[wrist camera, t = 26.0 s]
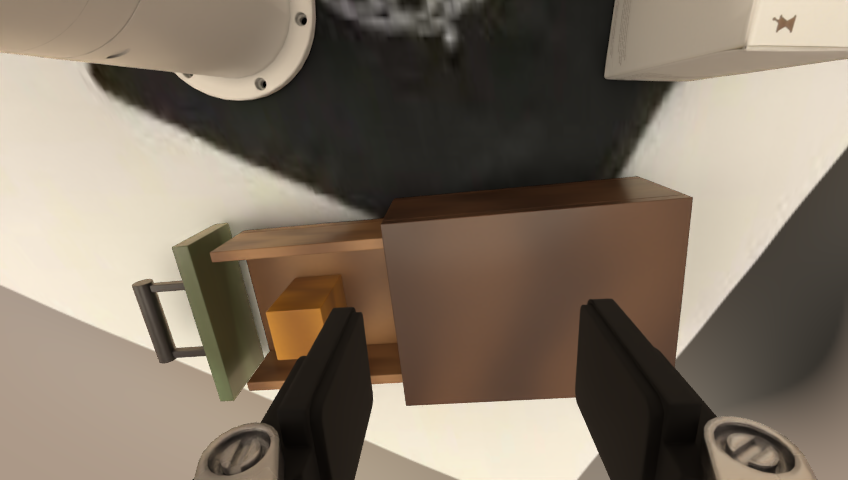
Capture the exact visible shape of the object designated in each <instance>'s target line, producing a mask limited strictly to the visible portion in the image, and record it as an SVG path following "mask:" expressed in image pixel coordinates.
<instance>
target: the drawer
mask: <svg viewBox="0 0 848 480" xmlns="http://www.w3.org/2000/svg"><path fill="white" fill-rule="evenodd" d="M383 219H384V218H382V219H371V220H359V221H348V222H337V223H325V224H314V225H302V226H291V227H279V228H268V229H256V230H245V231H243V232H241V233H240V234H238V235H236V236H235V237H233V238H232V235H231V232H230V228H229V224H228V223H222V224H215V225H213V226H211V227H209V228H207V229H205V230H203V231H201V232H200V233H198V234H196V235H194V236H192V237H190V238H188V239H186V240H184V241H183V242H181V243H179V244H177V245H175V246H173V247H172V250H173V253H174V256H175V259H176V262H177V265H178V269H179V272H180V275H181V278H182V281H172V282H160V283H154V282H153V280H152V279H145V280H141V281H138V282H136V283H134V284H133V285H132V288H133V290H134V293H135V296H136V299H137V301H138V304H139V307H140V310H141V312H142V315H143V318H144V321H145V324H146V326H147V329H148V332H149V335H150V337H151V340H152V343H153V346H154V348H155V351H156V354H157V357H158V359H159V362H160V363H168V362H171V361H173V360H175V359H176V358H180V357H196V356H206V357H207V360H208V363H209V366H210V369H211V372H212V376H213V379H214V382H215V385H216V388H217V391H218V394H219V398H220V401H234V400H235V399H236V397H237V396H238V395H239V393H240V392H241V390H242V389H243V387H244V386H245V385H246V383H247V385H248V388H249V391H255V390H273V389H281V387H282V385H283V383H284V382H285V380H286V378H287V377H288V375H289V373H290V371H291V370H292V368H293V366H294V365H295V363H296V361H297V360H298V359H288V360H278V359H277V355H276V351H275V347H274V343H273V339H272V335H271V331H270V327H269V324H268V320H267V316H266V311H267V310H268V309H269V308H270V307H271V306H272V304H273V303H274V302H275V301H276V300H277V299H278V297H279V296H280V295H281V294H282V293H283V292H284V290H285V289H286V288H287V287H288V286H289V285H290V283H291V282H292V281H293V280H294V279H295V278H300V277H313V276H326V275H339V274H341V277H342V282H343V288H344V293H345V299H346V304H347V307H354V308H355V310H356V312H362V314H363V320H364V328H365V336H366V344H367V352H368V360H369V368H370V376H371V384H383V383H401V382H403V380H402V373H401V366H400V359H399V352H398V345H397V338H396V331H395V324H394V317H393V310H392V303H391V296H390V289H389V282H388V275H387V268H386V261H385V254H384V247H383V240H382V233H381V226H380V225H381V223H382V220H383ZM238 260H246V261H247V265H248V268H249V272H250V276H251V280H252V284H253V288H254V292H255V295H256V299H257V303H258V307H259V311H260V315H261V319H262V323H263V326H264V330H265V334H266V338H267V342H268V346H269V350H270V351H269V353H268V354H267V355H266V357H265V358H264V356H263V352H262V348H261V345H260V341H259V337H258V333H257V330H256V326H255V322H254V318H253V314H252V311H251V307H250V303H249V299H248V296H247V292H246V288H245V284H244V281H243V277H242V273H241V269H240V266H239V262H238ZM176 290H185V291H186V294H187V297H188V300H189V303H190V306H191V309H192V313H193V316H194V319H195V322H196V325H197V328H198V332H199V335H200V338H201V341H202V344H203V346H201V347H185V348H176V346H175V344H174V341H173V338H172V335H171V332H170V329H169V326H168V323H167V320H166V317H165V314H164V311H163V308H162V306H161V303H160V300H159V297H158V294H157V292H163V291H176ZM263 359H264V360H263ZM261 362H262V363H261ZM260 363H261V364H260ZM258 366H259V367H258ZM256 369H257V370H256ZM255 370H256V371H255ZM253 373H254V374H253ZM251 376H252V377H251ZM249 379H250V380H249ZM248 380H249V381H248Z"/></svg>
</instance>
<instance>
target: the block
mask: <svg viewBox="0 0 848 480" xmlns="http://www.w3.org/2000/svg"><path fill="white" fill-rule="evenodd" d="M341 307H347V304H346V299H345V293H344V288H343V282H342V277H341V274H339V275H326V276H313V277H300V278H295V279H294V280H293V281H292V282H291V283H290V285H289V286H288V287H287V288H286V289H285V290H284V292H283V293H282V294H281V295H280V296H279V297H278V299H277V300H276V301H275V302H274V303H273V304H272V306H271V307H270V308H269V309H268V310H267V311H266V316H267V320H268V324H269V327H270V331H271V335H272V339H273V343H274V347H275V351H276V355H277V359H278V360H288V359H298V358H299V357H301V356H307V354H308V352H309V351H310V349H311V347H312V345H313V343H314V341H315V340H316V338H317V336H318V334H319V332H320V331H321V329H322V327H323V325H324V323H325V322H326V320H327V318H328V316H329V314H330V313H331V311H332V309H333V308H341Z"/></svg>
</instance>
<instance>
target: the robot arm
mask: <svg viewBox="0 0 848 480" xmlns="http://www.w3.org/2000/svg"><path fill="white" fill-rule="evenodd" d="M303 18H306V19H307V23H306V24H305V25H303V24H302V19H303ZM315 24H316V9H315V0H0V53H10V54H19V55H28V56H37V57H43V58H52V59H61V60H70V61H79V62H88V63H97V64H106V65H115V66H124V67H133V68H142V69H151V70H160V71H169V72H174V73H175V74H176V75H177V76H178V77H179V78H181V79H182V80H183V81H185V82H186V83H188V84H189V85H191V86H192V87H193V88H195V89H197V90H199V91H201V92H203V93H206V94H208V95H210V96H214V97H218V98H221V99H225V100H240V101H241V100H254V99H258V98H262V97H266V96H269V95H271V94H273V93H275V92H277V91H279V90H280V89H282V88H283V87H284V86H285V85H287V84H288V83H289V82H290V81H292V80H293V78H294V77H295V76H296V75H297V73H298V72H299V71H300V70H301V68H302V67H303V65H304V63H305V61H306V59H307V57H308V55H309V53H310V49H311V46H312V43H313V39H314V34H315ZM264 81H266V88H264V87H263V82H264ZM575 396H576V401H577V404H578V406H579V409H580V411H581V413H582V416H583V418H584V420H585V422H586V425H587V427H588V429H589V432H590V434H591V436H592V438H593V441H594V443H595V445H596V448H597V450H598V452H599V455H600V457H601V459H602V461H603V463H604V466H605V468H606V470H607V473H608V475H609V477H610V480H817V478H816V476H815V474H814V472H813V470H812V469H811V467H810V465H809V463H808V461H807V459H806V458H805V456H804V455H803V454H802V452H801V451H800V450H799V448H798V447H797V446H796V445H795V444H793V443H792V442H791V441H790V440H789V439H788V438H786V437H785V436H783V435H782V434H780V433H778V432H777V431H775V430H773V429H772V428H770V427H767V426H765V425H763V424H760V423H758V422H755V421H751V420H748V419H744V418H740V417H730V416H724V417H717V416H716V415H715V414H714V413H713V412H712V411H711V409H710V408H709V407H708V406H707V405H706V404H705V403H704V401H702V399H701V398H700V397H699V396H698V394H697V393H696V392H695V391H694V390H693V389H692V388H691V386H690V385H689V384H688V383H687V382H686V380H685V379H684V378H683V377H682V376H681V375H680V373H679V372H678V371H677V370H676V369H675V368H674V367H673V365H672V364H671V363H670V362H669V361H668V360H667V358H666V357H665V356H664V355H663V354H662V353H661V351H659V350H658V349H657V348H655V347H654V346H653V345H652V344H651V343H650V342H649V341H648V339H647V338H646V337H645V336H644V335H643V334H642V332H641V331H640V330H639V329H638V328H637V326H636V325H635V324H634V323H633V322H632V321H631V319H630V318H629V317H628V316H627V315H626V314H625V312H624V311H623V310H622V309H621V308H620V307H619V305H618V304H617V303H616V302H615V301H614V300H613V299H589V300H588V303H587V305H582V306H581V308H580V319H579V335H578V351H577V366H576V382H575ZM372 404H373V392H372V384H371V376H370V368H369V360H368V352H367V344H366V336H365V328H364V320H363V314H362V312H356V310H355V308H354V307H341V308H333V309H332V311H331V313H330V314H329V316H328V318H327V320H326V322H325V323H324V325H323V327H322V329H321V331H320V332H319V334H318V336H317V338H316V340H315V341H314V343H313V345H312V347H311V349H310V351H309V352H308V354H307V356H301V357H299V358H298V360H297V361H296V363H295V365H294V366H293V368H292V370H291V371H290V373H289V375H288V377H287V378H286V380H285V382H284V383H283V385H282V387H281V389H280V390H279V392H278V394H277V395H276V397H275V399H274V401H273V402H272V404H271V406H270V408H269V409H268V411H267V413H266V414H265V416H264V418H263V420H262V421H261V423H250V424H243V425H241V426H238V427H235V428H232V429H230V430H229V431H227V432H225V433H223V434H221V435H220V436H219V437H218V438H216V439H215V440H214V441H212V442H211V443H210V444H209V446H208V447H207V448H206V449H205V450H204V451H203V453H202V456H201V458H200V460H199V462H198V466H197V470H196V474H195V477H194V479H193V480H354V479H355V475H356V471H357V467H358V463H359V459H360V454H361V450H362V446H363V442H364V438H365V434H366V430H367V426H368V422H369V418H370V414H371V409H372Z"/></svg>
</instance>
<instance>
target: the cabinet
mask: <svg viewBox="0 0 848 480" xmlns="http://www.w3.org/2000/svg"><path fill="white" fill-rule="evenodd" d="M692 200H693V198H692V197H690V196H687V195H685V194H683V193H680V192H677V191H675V190H672V189H670V188H667V187H664V186H662V185H659V184H656V183H654V182H651V181H649V180H646V179H643V178H640V177H638V176H636V177H625V178H614V179H604V180H593V181H582V182H571V183H560V184H549V185H538V186H527V187H516V188H505V189H494V190H483V191H472V192H461V193H450V194H439V195H428V196H417V197H406V198H395V199H394V200H393V202H392V204H391V205H390V207H389V209H388V211H387V213H386V215H385V217H384V219H383V220H382V223H381V225H380V226H381V233H382V240H383V247H384V254H385V261H386V268H387V275H388V282H389V289H390V296H391V303H392V310H393V317H394V324H395V331H396V338H397V345H398V352H399V359H400V366H401V373H402V380H403V387H404V394H405V401H406V406H412V405H432V404H452V403H472V402H492V401H512V400H532V399H552V398H572V397H576V396H575V382H576V366H577V351H578V335H579V319H580V308H581V306H582V305H587V303H588V300H589V299H613V300H614V301H615V302H616V303H617V304H618V305H619V307H620V308H621V309H622V310H623V311H624V312H625V314H626V315H627V316H628V317H629V318H630V319H631V321H632V322H633V323H634V324H635V325H636V326H637V328H638V329H639V330H640V331H641V332H642V334H643V335H644V336H645V337H646V338H647V339H648V341H649V342H650V343H651V344H652V345H653V346H654V347H655V348H657V349H658V350H659V351H661V353H662V354H663V355H664V356H665V357H666V358H667V360H668V361H669V362H670V363H671V364H672V365H673V367H674V368H675V359H676V350H677V340H678V331H679V322H680V312H681V303H682V294H683V284H684V275H685V266H686V256H687V247H688V238H689V228H690V219H691V210H692Z"/></svg>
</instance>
